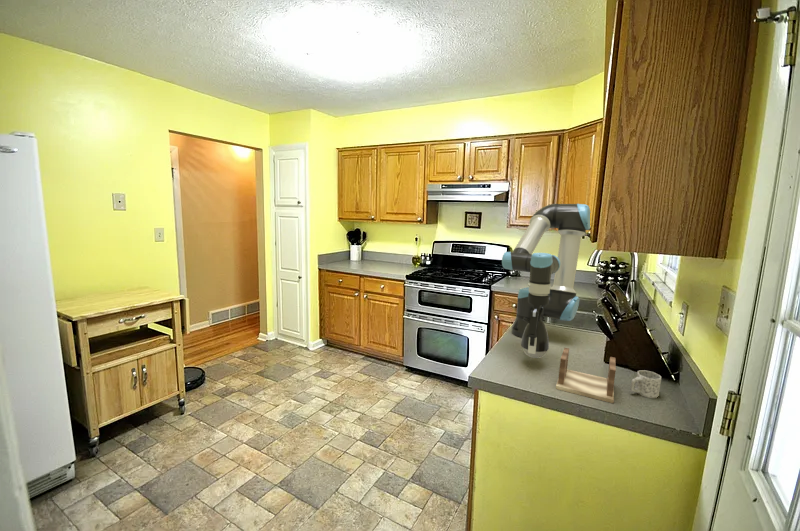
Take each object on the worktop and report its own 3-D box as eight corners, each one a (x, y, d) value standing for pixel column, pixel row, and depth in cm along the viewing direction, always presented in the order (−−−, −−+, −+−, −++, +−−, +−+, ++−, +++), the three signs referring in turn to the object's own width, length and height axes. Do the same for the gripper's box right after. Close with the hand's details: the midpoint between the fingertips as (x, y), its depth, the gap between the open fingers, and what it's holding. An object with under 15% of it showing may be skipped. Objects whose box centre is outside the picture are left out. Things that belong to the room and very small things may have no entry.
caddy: (561, 371, 135) (564, 345, 134) (613, 383, 127) (616, 355, 125) (555, 388, 122) (558, 360, 120) (613, 403, 113) (617, 373, 112)
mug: (646, 387, 124) (648, 369, 123) (663, 397, 118) (666, 378, 117) (621, 389, 122) (624, 371, 121) (638, 399, 116) (641, 380, 115)
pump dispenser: (525, 347, 147) (528, 312, 145) (551, 354, 141) (554, 317, 138) (515, 355, 140) (518, 318, 137) (543, 363, 133) (546, 324, 131)
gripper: (534, 286, 147) (530, 337, 151) (522, 298, 128) (518, 356, 132) (553, 288, 144) (549, 340, 148) (544, 301, 124) (539, 361, 128)
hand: (534, 348), depth 140 cm, fingers closed on pump dispenser, 10 cm apart
